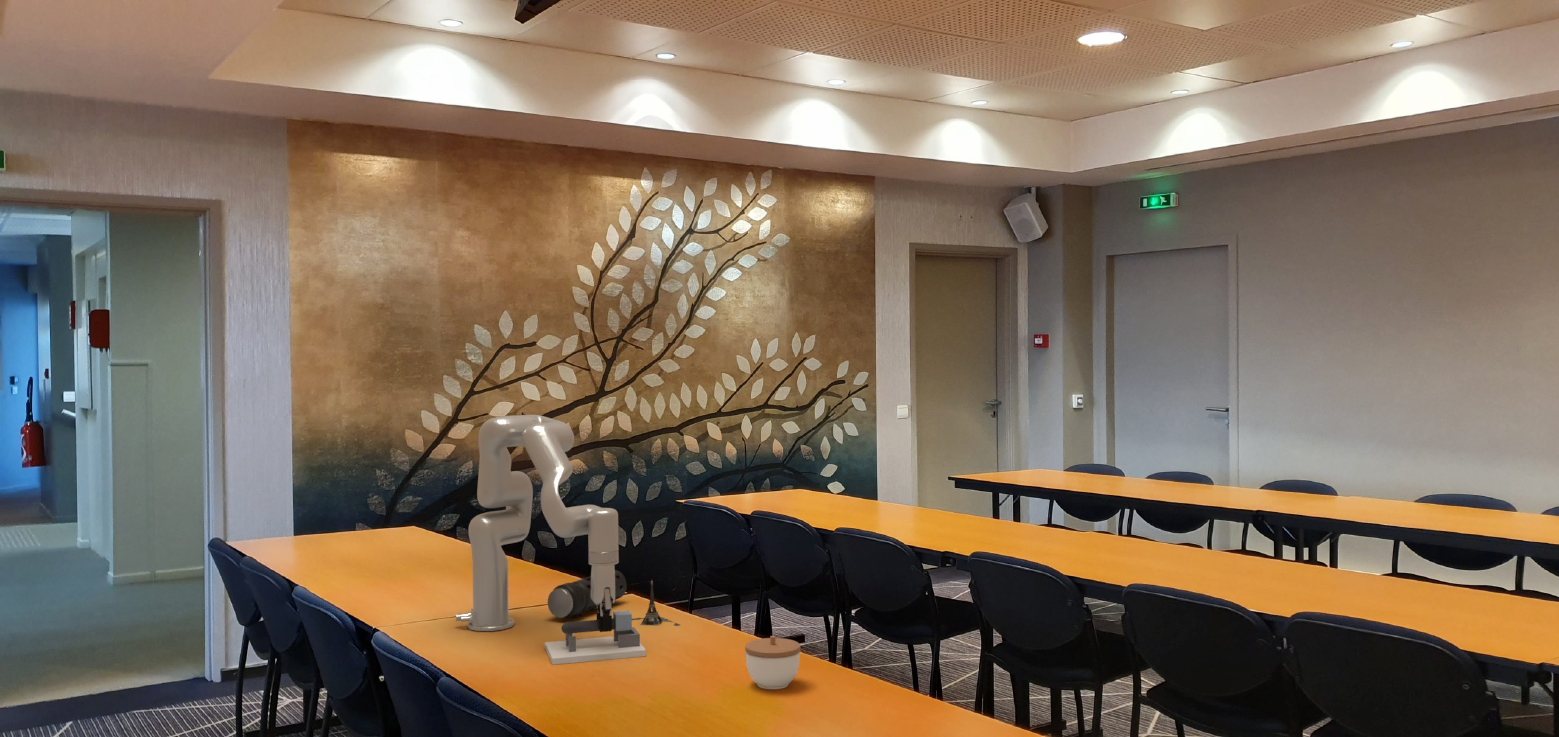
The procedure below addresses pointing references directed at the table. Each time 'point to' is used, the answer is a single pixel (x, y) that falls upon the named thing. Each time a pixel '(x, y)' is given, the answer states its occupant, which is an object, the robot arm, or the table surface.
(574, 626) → the cable
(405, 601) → the table surface
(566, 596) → the muzzle brake
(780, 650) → the lidded bowl
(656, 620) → the eiffel tower figurine
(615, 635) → the cable board
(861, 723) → the table surface
